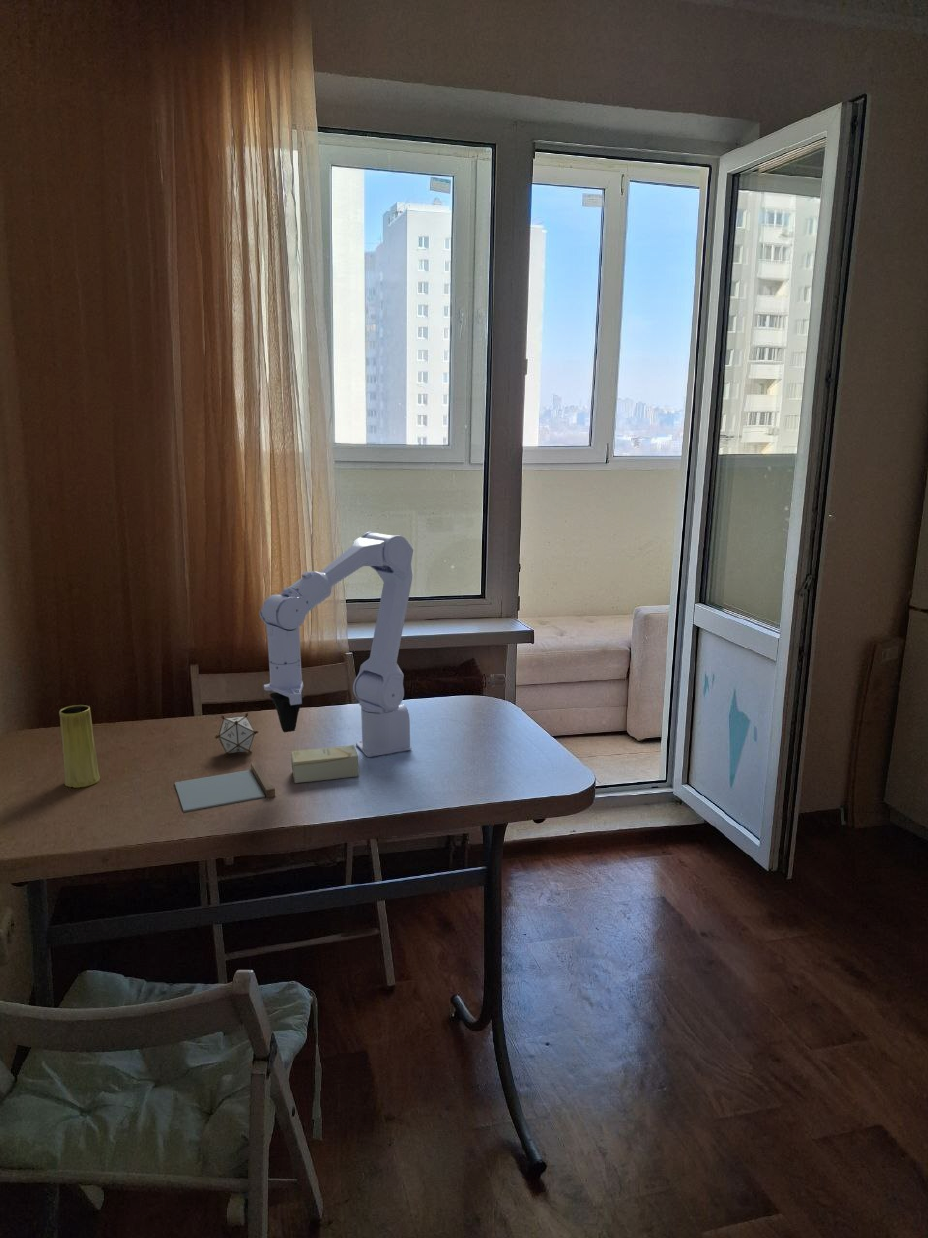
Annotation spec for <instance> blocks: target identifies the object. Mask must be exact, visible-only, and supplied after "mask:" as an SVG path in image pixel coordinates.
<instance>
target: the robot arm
mask: <svg viewBox="0 0 928 1238" xmlns="http://www.w3.org/2000/svg"><path fill="white" fill-rule="evenodd" d="M413 554H414V549H413V547H412V545H411V544H410V543H409V541H408V540H407V538H405V537H404V536H402V535H395V534H394V535H392V534H385V533H380V532H379V533H377V532H375V531H367V532H365V533H363V534H362V535H361V537H357V538H356V539H354V540H353V543H352V545H351V546H350V547H349V548H347V549H346V550H345V551H343V553H341V554H340V555H339V556H338V557H337V558H336V559H335V560H333V561H332V562H331V563H329V564H328V565H327V566H326V567H325V568H323V569H322V570H321V571H320V572H319V571H317V570H311V571H305V572H303V573H302V574H301V578H300V579H298V580H297V581H296V582H294V583H293V584H291V585H290V586H287V587H286V586H285V587H284V588H283V589H282V592H281V593H280V594H272V595H270V596H268V597H266V599H265V600H264V602H263V604H262V607H261V610H259V611H258V612H259V613H258V614H259V617H260V619H261V621H262V622H263V623H264V624H265V628H266V630H265V631H266V633H267V649H268V650H267V651H268V667H269V683H266V684H263V689H264V690H265V691H267V692H269V691H272V693H269V697H270V699H271V700H272V702H273V704H274V706H275V709H276V713H277V716H278V719H279V724H280V727H281V731H282V732H283V733H290V732H294V731H296V728H297V722H298V716H299V712H300V709H301V707H302V704H303V702H304V700H305V695H304V694H302V691H303V688H304V681H303V680H302V679H303V675H302V674H303V673H302V659H301V658H302V656H301V638H300V637H301V635H300V627H301V626H302V625H303V623H304V621H305V620H306V616H307V614H309V612H310V611H311V610H313V609H315V608H316V607H317V606H318V605H320V604H321V603H322V602H324V601H325V600H326V599H328V598H330V596H331V594H332V588H333V586H335V585H337V584H338V583H340V582H341V581H343V580H344V579H346V578H347V577H349V576H350V575H352V574H354V573H355V572H356V571H358V570H359V569H361V568H363V567H370V568H371V569H373V570H375V571H376V573H377V575H378V576H379V577H380V578H381V580H382V581H383V584H382V591H381V594H380V601H379V607H378V611H377V617H376V622H375V628H374V633H373V639H372V644H371V649H370V655H369V658H368V659H366V660H365V661H363V662H362V664H360V667H359V672H358V674H357V676H356V677H355V679H354V681H353V684H352V693H353V695H354V697H355V698H356V699H357V700H358V701H359V702H358V703H359V706H360V708H361V711H360V712H361V713H360V714H361V718H360V719H361V741H356V742H355V745H356V746H357V747H358V748H359V750H360V751H362V753H364V755H365V756H366V757H368V758H371V757H377V756H381V755H382V756H383V755H388V754H395V753H402V752H405V751H411V750H412V746H411V729H410V727H411V726H410V725H411V723H410V722H411V721H410V713H409V710H408V708H407V706H406V705H405V704H404V703H402V701H403V699H404V698H405V688H404V677H405V675H404V673H403V671H402V669H401V668H400V666H399V664H398V663H397V662H398V657H399V652H400V651H399V650H400V646H401V640H402V637H403V629H404V626H405V624H404V623H405V619H406V614H407V610H408V609H407V608H408V603H409V599H410V592H411V587H412V582H413V572H412V571H413V570H412V560H413Z"/></svg>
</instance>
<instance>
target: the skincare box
mask: <svg viewBox="0 0 928 1238" xmlns="http://www.w3.org/2000/svg"><path fill="white" fill-rule="evenodd" d="M290 753H291V755H290V756H291V758H290V759H291V760H290V763H291V770H292V777H293V781H294V784H299V783H309V782H319V781H328V780H338V779H339V780H340V779H346V778H355V777H360V770H359V769H360V766H359V764H360V763H359V754H358V752H357V750H356V747H355V745H354V744H351V745H344V746H332V747H331V746H330V747H322V748H312V749H310V748H309V749H302V750H301V749H300V750H293V751H292V750H291V752H290Z"/></svg>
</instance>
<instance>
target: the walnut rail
mask: <svg viewBox="0 0 928 1238" xmlns="http://www.w3.org/2000/svg"><path fill="white" fill-rule="evenodd" d="M250 768H251V769H250V770H251V772H252V773H253V775H254V777H255V779H256V781H257V782H258V784H259V786H260V788H261V790H262V791H263V793H264V795H265V798H266V799H270V798H273V797H276V789H275V787H274V785H273V783H272V781H271V779H270V778H269V776H268V774H267V773H266V771H265V770H264V768H263V767H262V765H261V763H260V762H259V761H253V762H250Z"/></svg>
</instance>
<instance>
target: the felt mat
mask: <svg viewBox="0 0 928 1238" xmlns="http://www.w3.org/2000/svg"><path fill="white" fill-rule="evenodd" d="M174 787H175V789H176V793H177V796H178V798H179V802H180V805H181V808H182V811H183V812H184V813H185V812H192V811H195V810H196V811H197V810H201V809H207V808H213V807H219V806H223V805H229V804H234V803H235V804H236V803H240V802H247V801H250V800H251V801H252V800H257V799H258V800H259V799H261V798H266V795H265V794H264V792H263V790H262V788H261V787H260V785H259V783H258V781H257V779H256V778H255V776H254V774H253V772H252V770H251V769H247V770H240V771H235V772H229V773H223V774H222V773H221V774H217V775H212V776H206V777H199V778H194V779H193V778H192V779H187V780H182V781H175V782H174Z"/></svg>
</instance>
